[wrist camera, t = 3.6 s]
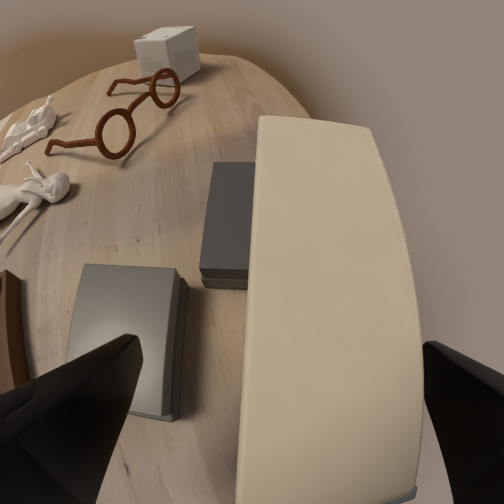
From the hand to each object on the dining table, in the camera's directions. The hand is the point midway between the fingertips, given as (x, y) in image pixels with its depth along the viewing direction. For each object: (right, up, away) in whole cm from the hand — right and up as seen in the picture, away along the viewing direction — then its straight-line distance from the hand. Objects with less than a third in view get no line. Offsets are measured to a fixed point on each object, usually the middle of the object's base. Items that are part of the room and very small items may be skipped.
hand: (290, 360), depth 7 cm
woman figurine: (-27, +8, +13) cm, 31 cm away
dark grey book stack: (-1, +4, +12) cm, 13 cm away
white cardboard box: (-12, +27, +24) cm, 38 cm away
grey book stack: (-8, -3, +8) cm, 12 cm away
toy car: (-33, +20, +19) cm, 43 cm away
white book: (0, -3, +8) cm, 8 cm away
